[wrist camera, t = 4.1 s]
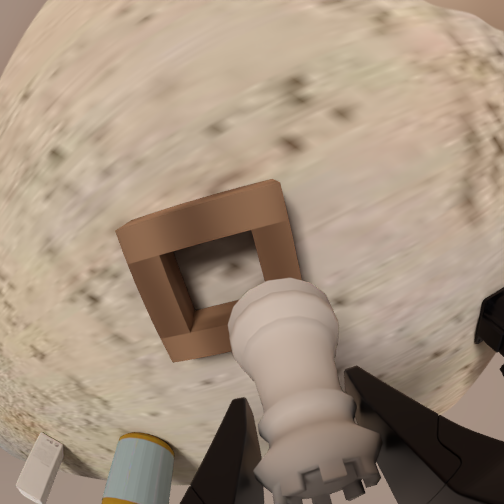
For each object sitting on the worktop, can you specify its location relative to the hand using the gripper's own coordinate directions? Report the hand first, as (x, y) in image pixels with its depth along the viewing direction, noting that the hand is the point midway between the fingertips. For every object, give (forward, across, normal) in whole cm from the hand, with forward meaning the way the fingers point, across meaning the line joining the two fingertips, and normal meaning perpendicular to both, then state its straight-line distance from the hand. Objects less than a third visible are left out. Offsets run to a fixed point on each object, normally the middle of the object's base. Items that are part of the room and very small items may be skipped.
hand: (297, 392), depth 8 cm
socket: (+13, +3, 0) cm, 13 cm away
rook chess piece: (+4, 0, 0) cm, 5 cm away
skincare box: (+13, +38, +22) cm, 46 cm away
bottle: (+13, +18, +20) cm, 30 cm away
